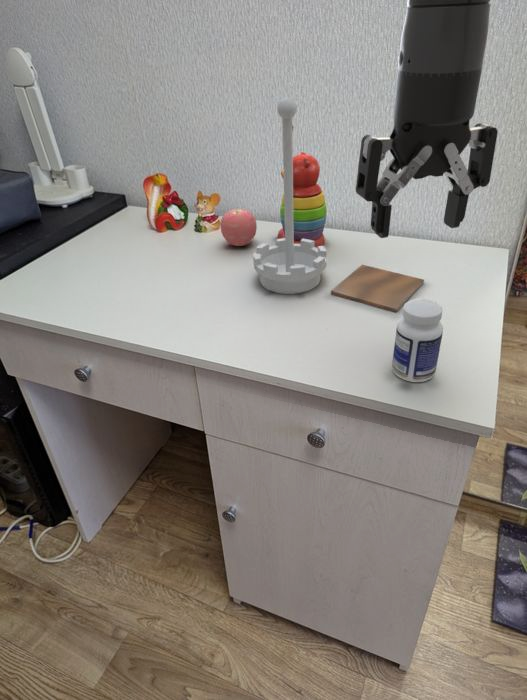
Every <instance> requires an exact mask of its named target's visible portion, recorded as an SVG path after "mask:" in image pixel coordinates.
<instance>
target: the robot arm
mask: <svg viewBox="0 0 527 700" xmlns="http://www.w3.org/2000/svg"><path fill="white" fill-rule="evenodd" d="M491 2H492V0H407V4H406V5H407V8H406V11H405V16H404V17H405V18H404V22H403V27H402V32H401V37H400V44H399V52H398V56H397V63H398V64H397V65H398V67H397V75H396V87H395V95H394V96H395V98H394V107H393V127H392V130H391V132H390V135H389V136H384V137H374V136H372V135H371V134H366V135H363V137H362V138H361V142H360V150H359V157H358V167H357V176H356V185H355V193H356V195H358V196H359V197H361V198H363V200H365V201H366V202H368V203H369V202H371V215H370V228H371V230H372V231H373V232H374V233H375V234H376V236H378V237H379V238H380V239H385V238H389V236H390V226H391V218H392V217H391V216H392V208H393V207H392V204H391V202H392V200H393V199H394V198H395V197H396V196H397V194H398V192H400V190H401V189H404V188H405V187H407V185H408V183H410V181H411V180H412V179H414V180H420V179H424V178H426V177H427V178H428V177H429V176H430V177H436V178H437V177H443V176H444V175H445V178H446V179H447V181H448V183H449V185H450V186H451V188H452V189H451V190H448V192H447V193H448V194H447V199H446V203H445V212H444V216H443V223H444V225H446V226H448V227H449V228H450V229H456V228H460V225H461V223H463V221H464V219H465V217H466V211H467V207H468V203H469V198H470V194H471V193H473V191H474V190H475V189H478V188H479V187H480V188H485V187H487V186H488V185H489V183H490V182H491V176H492V171H493V170H492V169H493V164H494V157H495V151H496V145H497V138H498V129H497V128H496V127H493V126H491V125H490V124H489V125H488V124H486V123H481V122H478V123H476V124H475V125H474V127H470V121H471V119H472V118H473V117H474V115H475V111H476V104H477V99H478V94H479V88H480V83H481V78H482V72H483V66H484V60H485V55H486V51H487V50H486V49H487V45H488V39H489V33H490V31H489V30H490V15H491V6H492V4H491ZM467 146H469V148H470V151H469V158H468V159H469V160H468V164H467V166H466V165H465V163H464V161H463V159H462V157H461V154H462V153H463V152H464V150H465V149H466V148H467ZM388 151H389V152H390V154H391V156H392V158H391V159H390V161H389V163H388V164H387V165H386V166H385V168H384V169H383V171H382V172H381V177H380V179H379V176H380V175H379V174H380V167H381V162H382V161H383V160H384V159H385V158H386V154H387V153H388ZM398 172H399V173H398Z"/></svg>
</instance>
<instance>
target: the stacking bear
mask: <svg viewBox="0 0 527 700" xmlns="http://www.w3.org/2000/svg"><path fill="white" fill-rule="evenodd" d="M320 171H321V169H320V163H319V161H318V159H317V158H315V156H313V155H310V154H307V153H306V152H304V151H301V152H300V154H296V155H294V156H293V221H294V244H301V240H302V239H309V240H312V241H314V247H316V248H318V246H324V245H325V243H326V239H325V235H324V229H325V225H326V222H327V212H328V211H327V204H326V199H325V198H326V197H325V193H324V191H323V190H322V188H321V186H320V185H319V184H318V180H319V177H320ZM280 175H281V178H282V180H283V181H284V173H283V169H282V170H281V172H280ZM279 209H280V210H279V214H280V216H279V217H280V224H281V229H279V230H278V232H277V239H281V238H285V216H284V192H283V194H282V197H281V204H280V208H279Z"/></svg>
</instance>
